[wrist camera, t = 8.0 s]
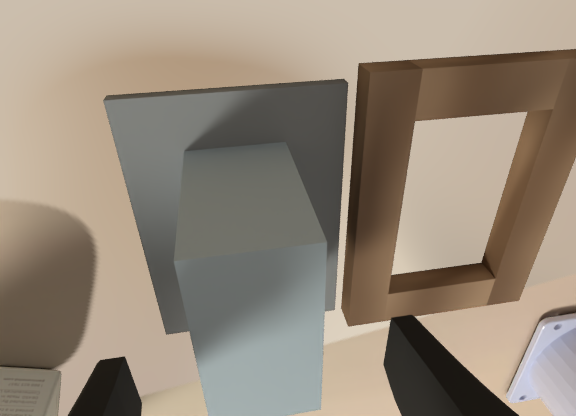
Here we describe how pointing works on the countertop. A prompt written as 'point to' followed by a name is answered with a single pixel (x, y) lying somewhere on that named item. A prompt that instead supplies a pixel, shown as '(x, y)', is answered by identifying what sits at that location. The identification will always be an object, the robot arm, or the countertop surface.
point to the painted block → (252, 280)
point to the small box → (29, 392)
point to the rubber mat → (218, 134)
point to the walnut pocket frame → (394, 162)
